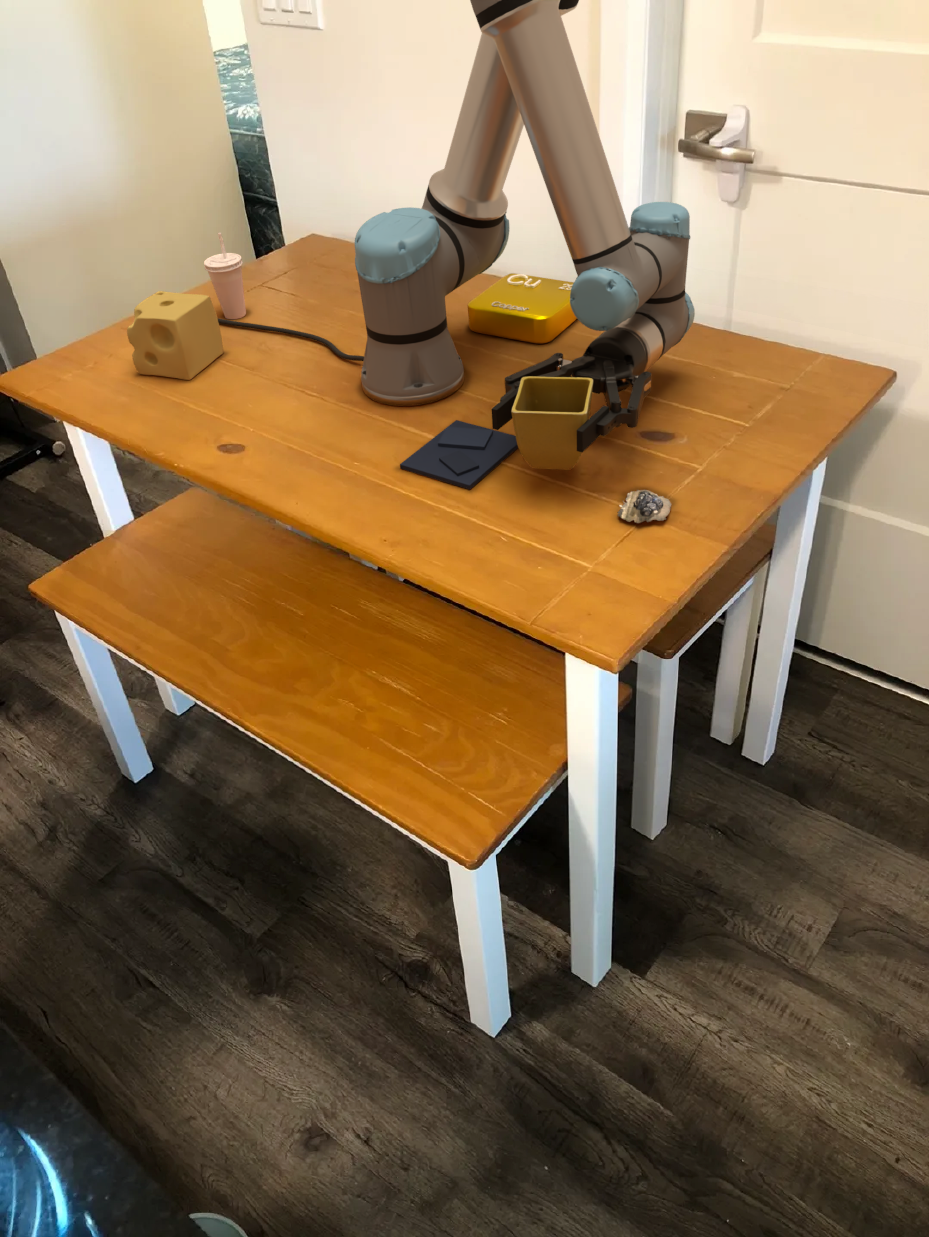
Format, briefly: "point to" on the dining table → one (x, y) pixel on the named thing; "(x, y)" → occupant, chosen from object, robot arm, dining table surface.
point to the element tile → (523, 308)
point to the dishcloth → (461, 454)
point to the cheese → (175, 335)
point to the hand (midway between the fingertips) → (536, 430)
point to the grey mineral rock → (644, 507)
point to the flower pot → (551, 419)
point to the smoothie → (227, 281)
